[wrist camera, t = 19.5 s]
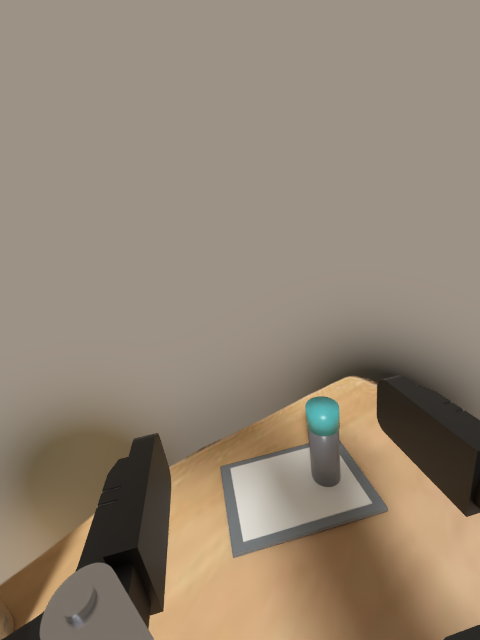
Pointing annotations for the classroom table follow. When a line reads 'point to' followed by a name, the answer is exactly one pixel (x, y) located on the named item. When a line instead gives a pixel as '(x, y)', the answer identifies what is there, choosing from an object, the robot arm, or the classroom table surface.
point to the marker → (324, 440)
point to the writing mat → (291, 499)
